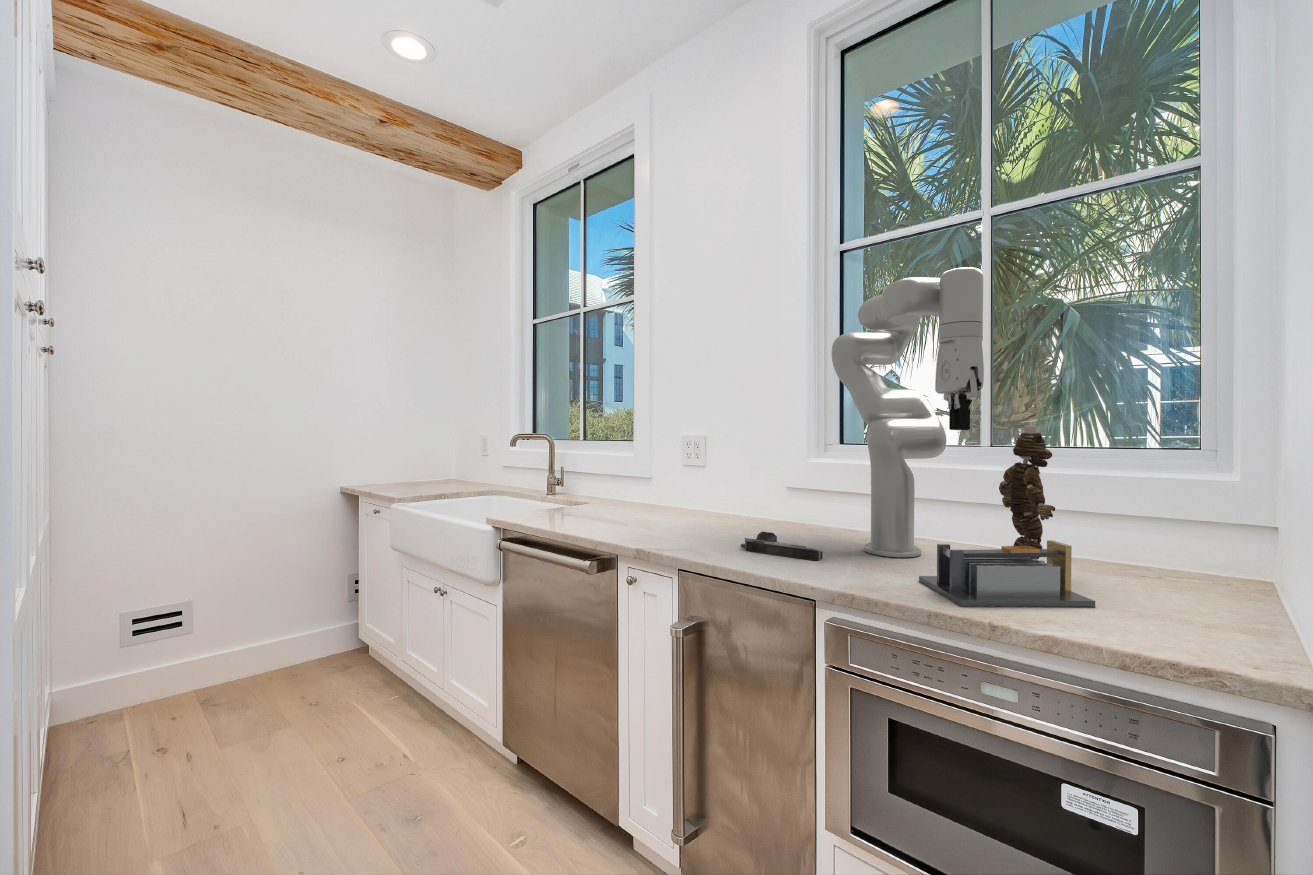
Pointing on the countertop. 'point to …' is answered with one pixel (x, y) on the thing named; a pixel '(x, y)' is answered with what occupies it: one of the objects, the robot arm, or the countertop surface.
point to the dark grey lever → (1005, 552)
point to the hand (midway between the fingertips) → (959, 429)
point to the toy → (1027, 488)
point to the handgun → (780, 547)
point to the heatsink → (1007, 580)
